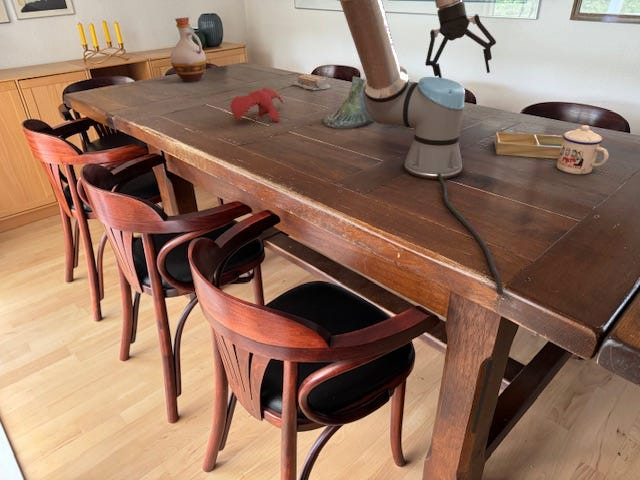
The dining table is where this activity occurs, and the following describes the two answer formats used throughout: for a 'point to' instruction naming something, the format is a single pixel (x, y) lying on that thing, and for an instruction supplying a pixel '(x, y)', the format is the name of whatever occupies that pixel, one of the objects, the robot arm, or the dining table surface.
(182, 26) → the jug
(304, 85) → the packaged product
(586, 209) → the dining table surface
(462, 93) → the robot arm
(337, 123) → the tree stump
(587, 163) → the teacup with lid
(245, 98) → the red animal figurine
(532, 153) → the organizer
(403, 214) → the dining table surface
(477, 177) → the dining table surface
